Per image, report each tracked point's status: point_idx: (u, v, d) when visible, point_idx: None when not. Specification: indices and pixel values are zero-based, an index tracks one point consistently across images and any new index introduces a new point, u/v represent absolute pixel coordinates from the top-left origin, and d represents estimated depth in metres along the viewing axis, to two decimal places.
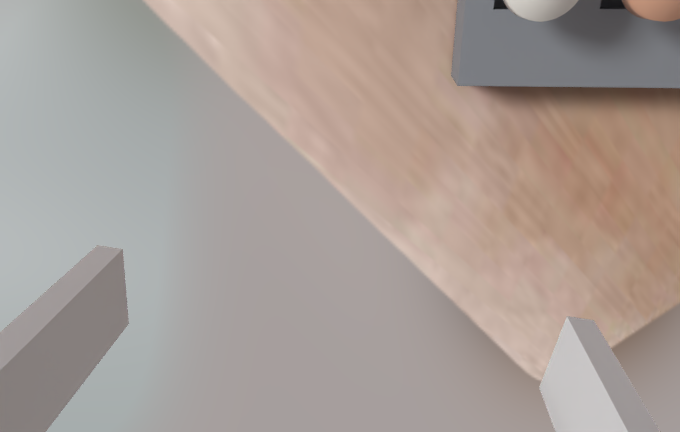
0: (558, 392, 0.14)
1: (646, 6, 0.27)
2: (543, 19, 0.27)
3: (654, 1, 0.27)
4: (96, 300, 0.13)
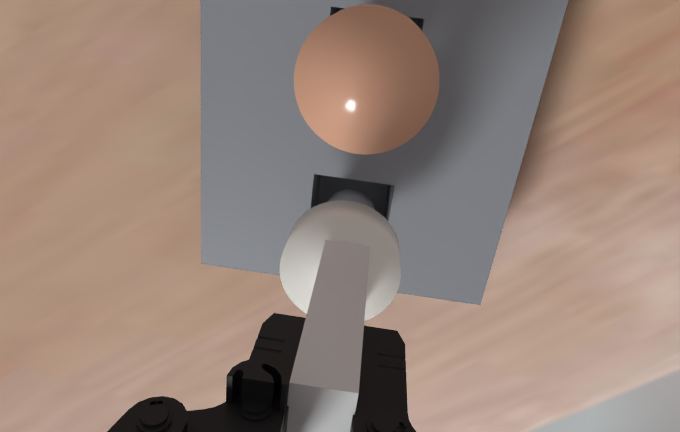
0: None
1: (405, 128, 0.15)
2: (397, 278, 0.17)
3: (399, 115, 0.15)
4: None
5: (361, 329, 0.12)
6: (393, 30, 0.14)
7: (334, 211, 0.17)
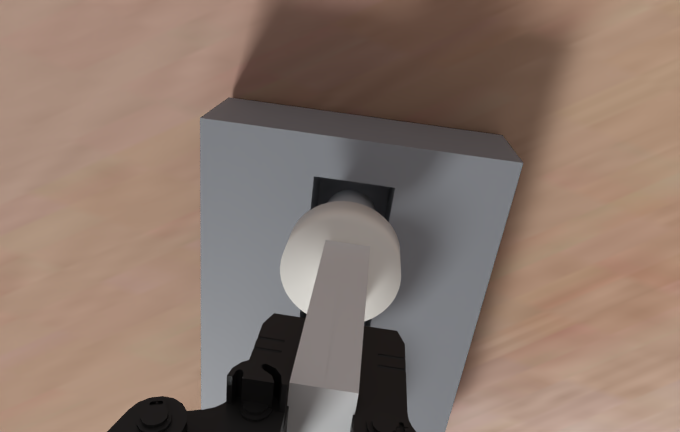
0: None
1: None
2: None
3: None
4: None
5: (361, 329, 0.12)
6: None
7: None
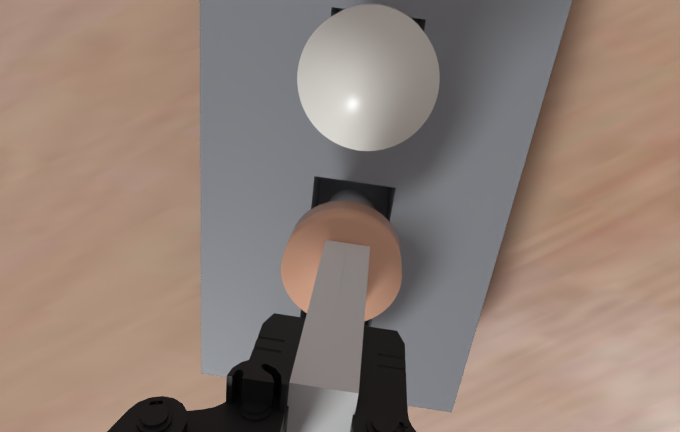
0: None
1: (374, 306, 0.18)
2: None
3: (369, 297, 0.17)
4: None
5: (361, 329, 0.12)
6: (362, 237, 0.17)
7: None
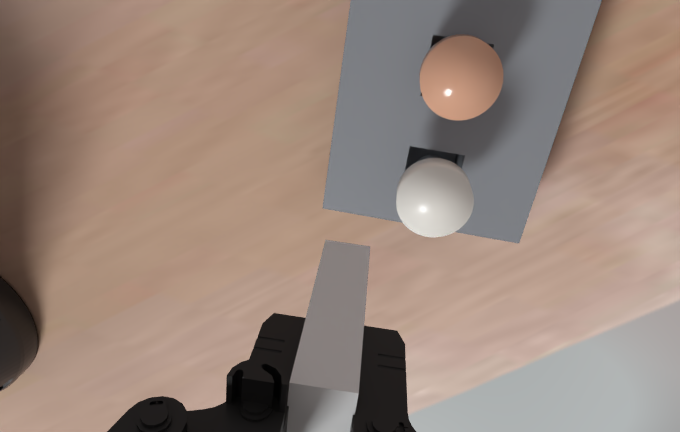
0: None
1: (481, 105, 0.26)
2: (471, 207, 0.27)
3: (478, 98, 0.26)
4: None
5: (361, 329, 0.12)
6: (479, 50, 0.25)
7: (433, 163, 0.27)
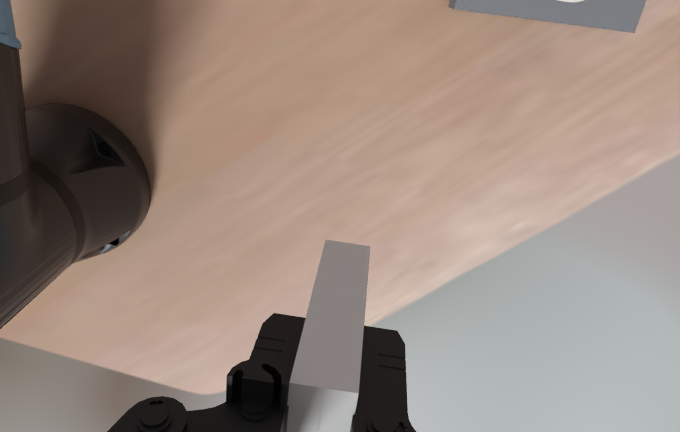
0: None
1: None
2: None
3: None
4: None
5: (361, 329, 0.12)
6: None
7: None
